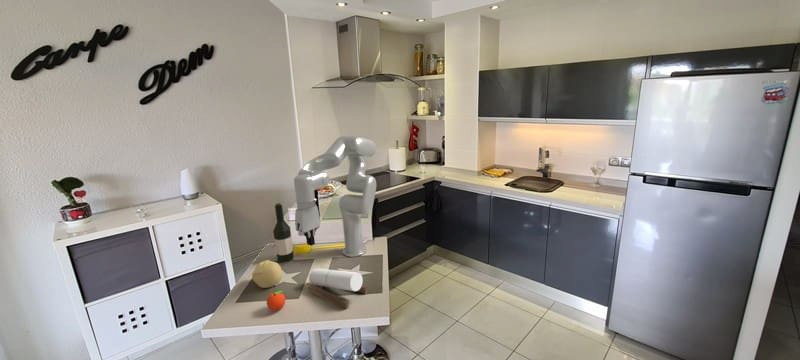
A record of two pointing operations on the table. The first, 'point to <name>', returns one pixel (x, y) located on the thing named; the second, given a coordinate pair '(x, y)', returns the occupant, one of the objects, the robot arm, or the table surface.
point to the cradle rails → (332, 297)
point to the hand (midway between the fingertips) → (311, 244)
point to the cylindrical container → (336, 279)
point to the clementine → (276, 301)
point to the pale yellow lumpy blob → (267, 274)
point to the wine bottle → (282, 237)
